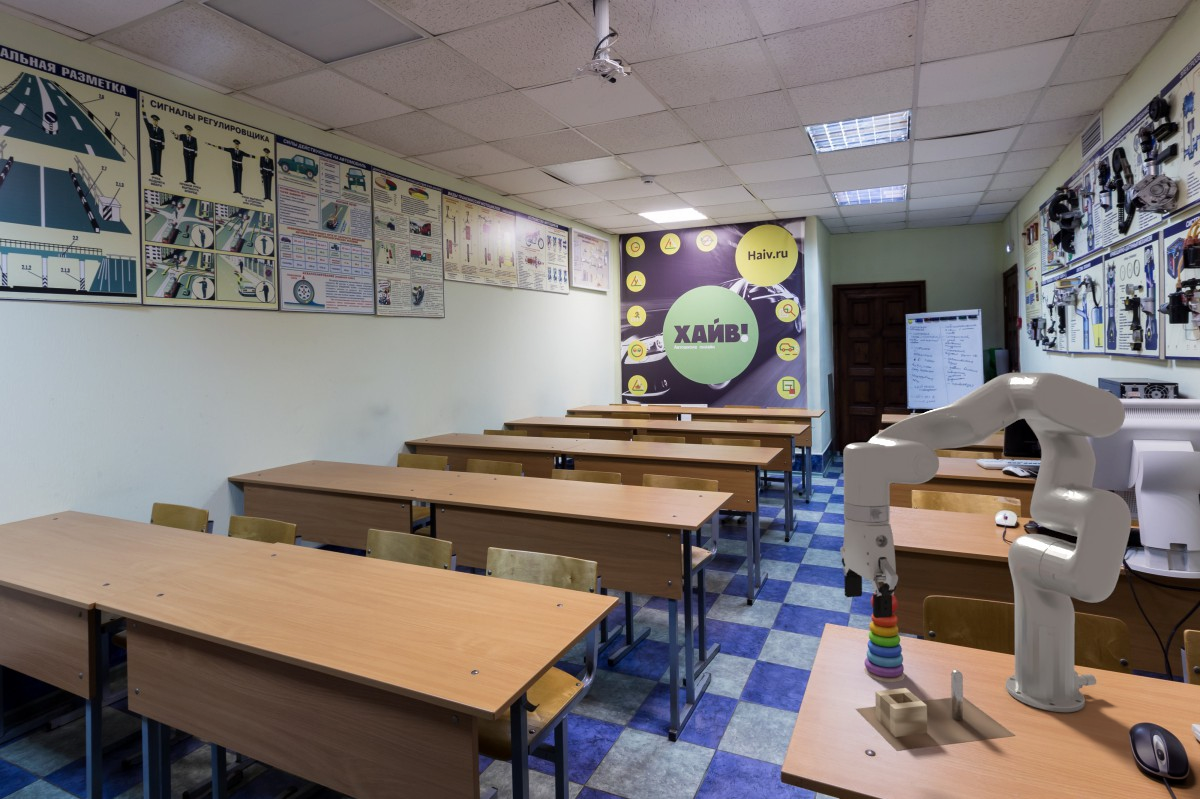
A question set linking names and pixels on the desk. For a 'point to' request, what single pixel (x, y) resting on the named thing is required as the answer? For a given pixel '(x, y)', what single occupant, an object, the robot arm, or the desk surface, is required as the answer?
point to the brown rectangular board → (942, 726)
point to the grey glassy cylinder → (957, 695)
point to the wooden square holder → (901, 712)
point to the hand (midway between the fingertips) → (867, 606)
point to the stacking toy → (884, 648)
